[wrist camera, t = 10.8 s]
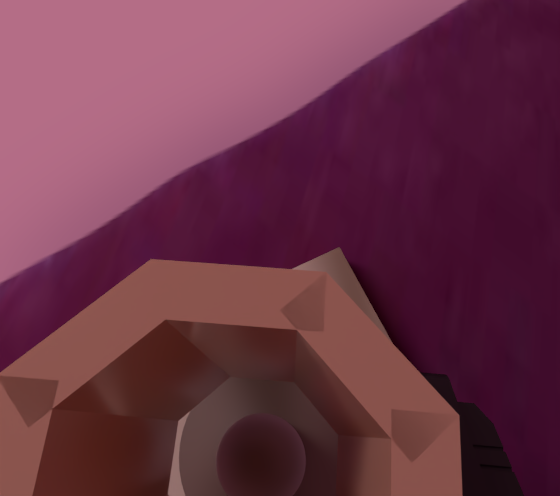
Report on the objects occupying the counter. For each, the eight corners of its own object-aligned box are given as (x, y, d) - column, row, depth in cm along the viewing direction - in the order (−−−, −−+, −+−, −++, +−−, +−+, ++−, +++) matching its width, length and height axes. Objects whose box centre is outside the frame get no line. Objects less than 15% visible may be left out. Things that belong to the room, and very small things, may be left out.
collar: (371, 357, 15) (454, 280, 7) (367, 612, 13) (478, 881, 5) (160, 340, 15) (31, 249, 8) (119, 586, 13) (-122, 802, 5)
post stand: (336, 257, 26) (356, 172, 17) (489, 534, 21) (617, 604, 13) (80, 376, 24) (-37, 347, 16) (186, 706, 19) (102, 918, 11)
